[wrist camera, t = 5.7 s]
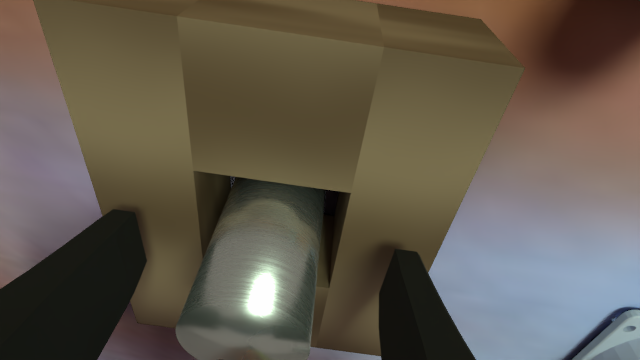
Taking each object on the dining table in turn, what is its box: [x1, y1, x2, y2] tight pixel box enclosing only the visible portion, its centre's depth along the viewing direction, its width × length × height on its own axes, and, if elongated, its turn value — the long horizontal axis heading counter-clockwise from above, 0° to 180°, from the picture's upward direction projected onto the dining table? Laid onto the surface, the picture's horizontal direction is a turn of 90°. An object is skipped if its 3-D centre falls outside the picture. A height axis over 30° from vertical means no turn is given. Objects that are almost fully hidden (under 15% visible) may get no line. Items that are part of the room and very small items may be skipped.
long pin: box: [176, 177, 326, 360], centre depth 11 cm, size 3×3×7 cm
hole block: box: [33, 0, 525, 356], centre depth 13 cm, size 12×10×4 cm
